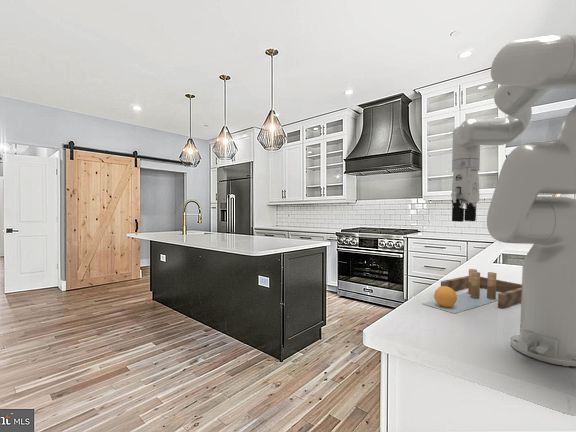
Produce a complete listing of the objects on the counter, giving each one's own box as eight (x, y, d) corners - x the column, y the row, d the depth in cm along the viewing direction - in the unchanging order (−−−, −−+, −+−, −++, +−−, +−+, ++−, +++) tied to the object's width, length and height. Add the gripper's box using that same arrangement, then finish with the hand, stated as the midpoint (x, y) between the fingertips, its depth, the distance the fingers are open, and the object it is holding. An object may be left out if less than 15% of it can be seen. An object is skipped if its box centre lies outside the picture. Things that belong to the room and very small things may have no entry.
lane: (454, 313, 86) (454, 313, 86) (422, 304, 95) (422, 303, 95) (514, 295, 106) (514, 295, 106) (482, 288, 114) (482, 288, 114)
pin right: (493, 300, 100) (494, 274, 100) (485, 298, 102) (486, 272, 102) (497, 299, 101) (497, 273, 101) (489, 297, 103) (489, 271, 103)
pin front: (477, 299, 100) (477, 273, 100) (469, 298, 102) (470, 272, 102) (480, 298, 101) (481, 272, 101) (473, 297, 103) (474, 271, 103)
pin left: (473, 295, 105) (474, 270, 105) (466, 294, 107) (467, 269, 107) (477, 294, 106) (478, 269, 106) (470, 293, 108) (471, 268, 108)
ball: (449, 311, 89) (449, 290, 88) (429, 305, 94) (430, 285, 93) (460, 307, 92) (461, 287, 92) (441, 302, 97) (441, 283, 97)
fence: (503, 308, 92) (503, 295, 92) (440, 292, 108) (440, 281, 108) (532, 298, 103) (533, 286, 102) (471, 285, 119) (471, 275, 119)
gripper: (468, 162, 89) (466, 222, 89) (488, 168, 100) (487, 221, 101) (441, 164, 95) (439, 221, 95) (463, 170, 106) (462, 220, 106)
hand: (464, 221), depth 98 cm, fingers open, 9 cm apart
